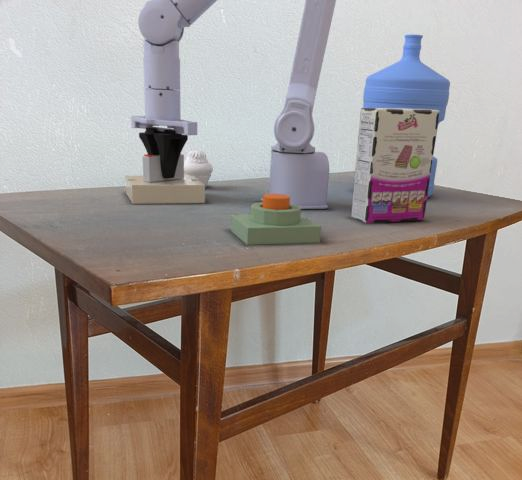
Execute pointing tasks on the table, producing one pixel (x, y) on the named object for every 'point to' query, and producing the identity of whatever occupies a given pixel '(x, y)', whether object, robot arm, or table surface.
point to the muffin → (198, 166)
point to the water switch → (275, 226)
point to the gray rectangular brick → (159, 168)
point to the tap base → (165, 190)
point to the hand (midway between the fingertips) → (164, 177)
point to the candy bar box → (393, 164)
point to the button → (276, 201)
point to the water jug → (409, 88)
